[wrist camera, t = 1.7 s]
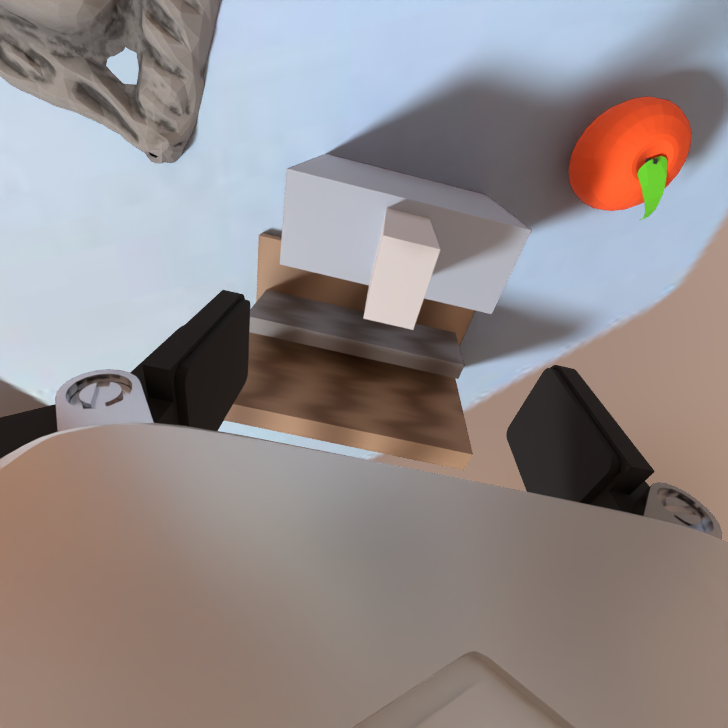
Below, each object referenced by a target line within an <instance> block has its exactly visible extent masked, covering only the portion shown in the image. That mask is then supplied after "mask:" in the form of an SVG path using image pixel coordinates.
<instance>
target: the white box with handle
mask: <svg viewBox="0 0 728 728" xmlns="http://www.w3.org/2000/svg"><path fill="white" fill-rule="evenodd" d="M531 231H532V230H531V229H530V228H528V227H527V226H526V225H524V224H523V223H522V222H520V221H519V220H518V219H517V218H515V217H514V216H513V215H511V214H510V213H509V212H507V211H506V210H505V209H503V208H502V207H501V206H500V205H498V204H497V203H496V202H494V201H493V200H492V199H490V198H489V197H488V196H487V195H485V194H481V193H477V192H473V191H470V190H466V189H462V188H458V187H454V186H450V185H446V184H442V183H438V182H434V181H430V180H426V179H423V178H419V177H415V176H411V175H407V174H403V173H399V172H395V171H391V170H387V169H383V168H380V167H376V166H372V165H368V164H364V163H360V162H356V161H352V160H348V159H344V158H340V157H336V156H333V155H329V154H324V155H321V156H318V157H316V158H313V159H311V160H308V161H305V162H303V163H300V164H297V165H295V166H292V167H290V168H287V172H286V185H285V198H284V212H283V225H282V238H281V252H280V265H285V266H289V267H293V268H297V269H302V270H306V271H310V272H314V273H319V274H323V275H327V276H331V277H336V278H340V279H344V280H348V281H353V282H357V283H361V284H365V285H369V289H368V294H367V300H366V306H365V312H364V317H363V319H368V320H372V321H376V322H381V323H385V324H390V325H394V326H398V327H403V328H407V329H411V330H413V329H414V326H415V323H416V320H417V317H418V314H419V311H420V308H421V305H422V302H423V299H424V298H425V299H429V300H433V301H437V302H442V303H446V304H450V305H454V306H459V307H463V308H467V309H471V310H476V311H480V312H484V313H488V314H492V313H493V310H494V308H495V306H496V304H497V302H498V300H499V298H500V296H501V294H502V292H503V289H504V287H505V285H506V283H507V281H508V279H509V277H510V275H511V273H512V271H513V268H514V266H515V264H516V262H517V260H518V258H519V256H520V254H521V252H522V250H523V247H524V245H525V243H526V241H527V239H528V237H529V235H530V233H531Z"/></svg>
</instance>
